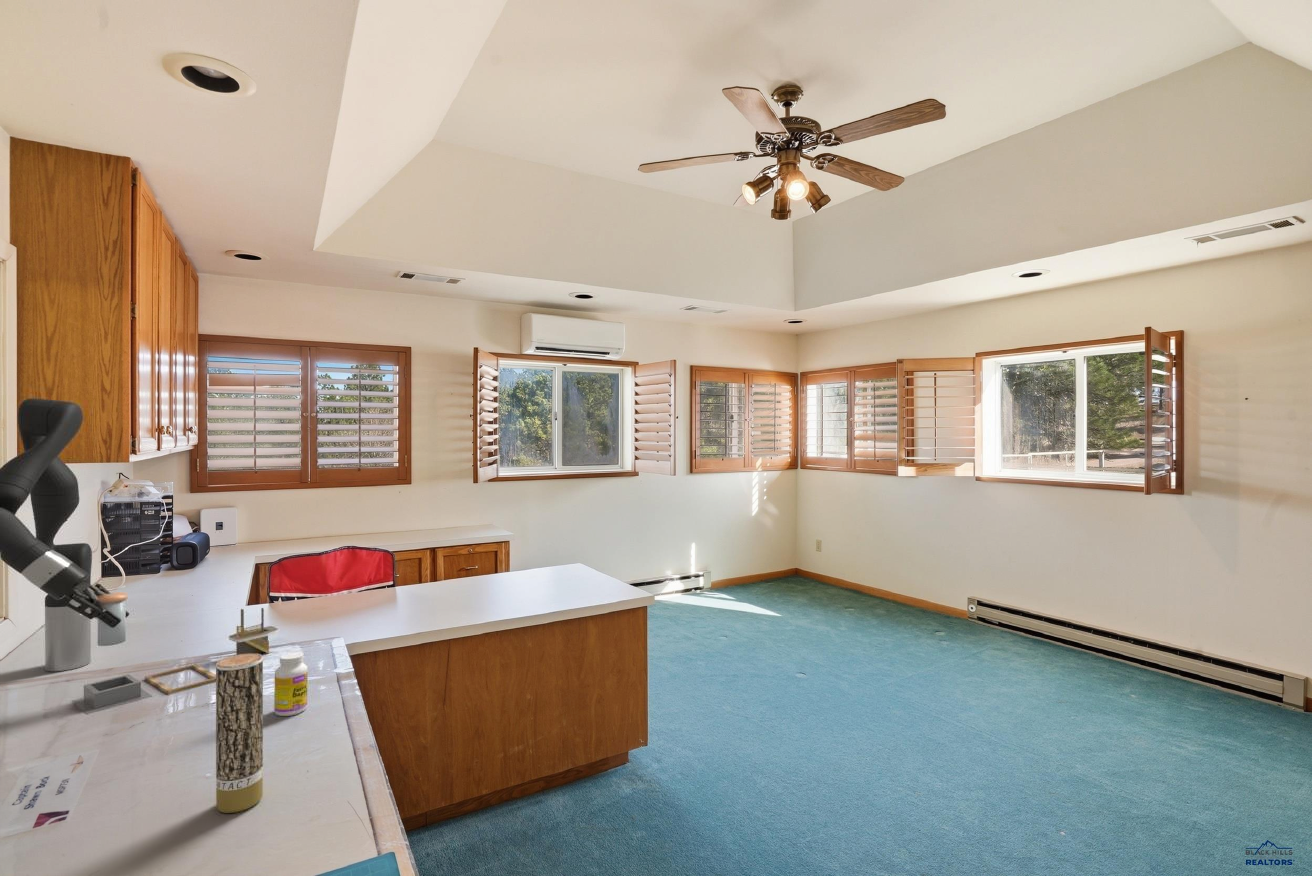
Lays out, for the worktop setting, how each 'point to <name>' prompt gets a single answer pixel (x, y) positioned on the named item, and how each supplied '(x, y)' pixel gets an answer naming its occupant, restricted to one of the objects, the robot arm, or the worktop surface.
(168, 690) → the tray
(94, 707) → the housing
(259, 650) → the architectural model
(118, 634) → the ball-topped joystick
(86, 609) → the robot arm
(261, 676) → the paper tube
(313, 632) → the worktop surface
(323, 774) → the worktop surface
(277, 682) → the supplement bottle
